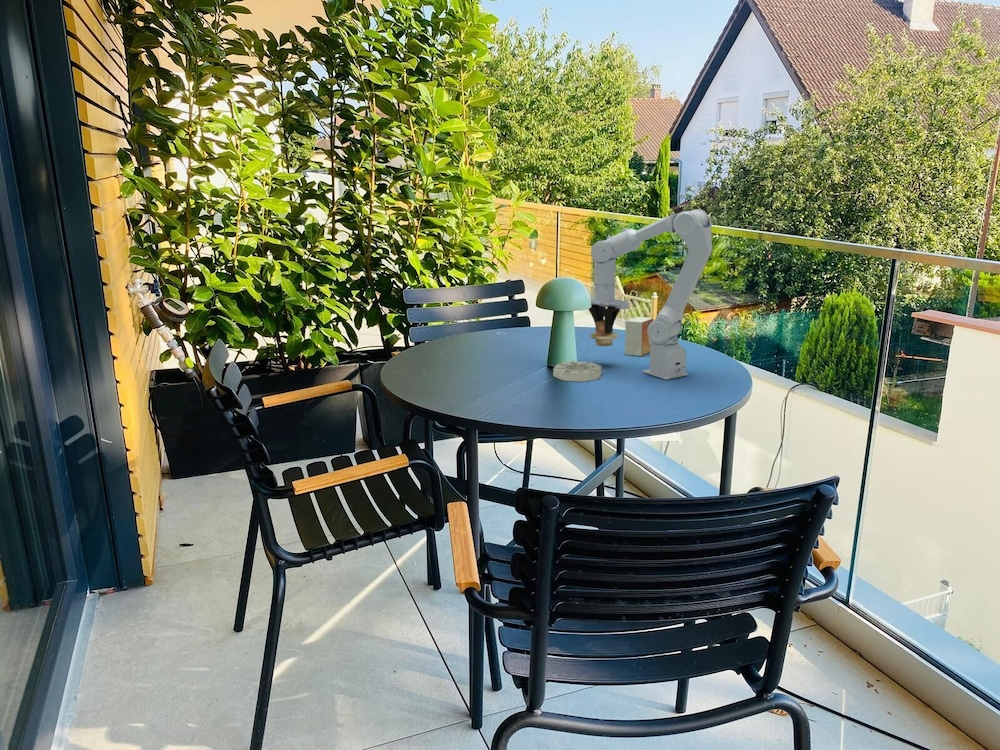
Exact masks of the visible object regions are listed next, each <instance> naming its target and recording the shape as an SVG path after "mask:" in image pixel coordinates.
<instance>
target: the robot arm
mask: <svg viewBox="0 0 1000 750" xmlns="http://www.w3.org/2000/svg"><path fill="white" fill-rule="evenodd" d="M712 226H713V223H712V221H711V219H710V218H709V215H708V214H707V213H706V211H704V210H702V209H693V210H685V211H681V212H678V213H675V214H671V215H668V216H664V217H662V218H661V219H658V220H657V221H654V222H652V223H649V224H648V225H646V226H643V227H641V228H640V229H638V230H637V229H634V228H632V227H631V228H628V227H625V228H622V229H621V232H619V233H617V234H615V235H608V236H606V239H605V240H598V241H596V242H595V243H594V244H593V245H592V246H591V249H590V254H591V255H590V256H591V258H592V259H593V260H594V272H593V273H594V274H593V276H594V281H593V282H594V285H593V286H594V287H593V288H594V289H593V293H594V294H593V297H590V298H591V305H590V307H589V308H588V311H589V313H590V315H591V317H592V319H593V322H594V325H595V327H596V322H597V321H600V320H604V319H605V332H606V333H611V332H612V328H614V324H615V321H616V319H617V317H618V315H619V313H620V312H621V310H624V311H625V310H628V309H629V303H630V302H629V301H625V300H621V299H616V260H617V258H618V257H619V258H620V257H621V256H623V255H625V254H628V253H631V252H633V251H636V250H638V249H639V248H640V246H641V244H642V242H644V241H646V240H647V241H648V240H649V239H652V238H654V237H657V236H659V235H662V234H664V233H670V234H674V233H675V234H677V235H678V237H679V238H680V239H681V240H682V241H683V242H684V244H685V246H686V248H687V250H688V253H687V256H686V258H685V260H684V263H683V265H682V267H681V269H680V272H679V274H678V276H677V278H676V280H675V282H674V284H673V286H672V289H671V291H670V293H669V295H668V296H667V299H666V302H665V303H664V305H663V307H662V309H661V310H660V311H659V312H658V314H657V315H656V318H655V319H653V322H651V323H650V324H649V326H648V330H647V332H648V336H649V338H650V339H651V348H650V352H649V353H650V355H649V356H650V357H649V368H648V369H644V370H642V373H645V374H648V375H651V376H653V377H657V378H660V379H663V380H666V381H667V380H671V379H676V378H681V377H686V376H688V372H686V371H687V370H686V369H687V350H686V349H685V348H684V346H681V344H680V343H679V338H678V335H679V334H680V333H681V332H682V329H683V327H682V325H683V323H682V322H683V318H684V317H685V314H684V311H685V308H686V306H687V305H688V303H689V301H690V298H691V297H692V294H693V293H694V290H695V287H696V286H697V283H698V281H699V279H700V277H701V276H702V273H703V271H704V269H705V267H706V264H708V263H707V262H708V261H709V258H710V256H711V254H712V252H713V240H712Z"/></svg>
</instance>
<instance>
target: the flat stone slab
mask: <svg viewBox="0 0 1000 750" xmlns="http://www.w3.org/2000/svg"><path fill="white" fill-rule="evenodd" d="M552 370H553V372H552V373H553V374H552V375H553V378H556V379H558V380H561V381H564V382H580V383H584V382H590V381H594V380H599V379H600V378H601V375H602V370H603V369H602V365H599V364H597V363H593V362H591V361H575V360H573V361H567V362H562V363H557V364H556V365H555V366H554V367H553V369H552Z"/></svg>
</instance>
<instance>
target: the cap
mask: <svg viewBox="0 0 1000 750" xmlns="http://www.w3.org/2000/svg"><path fill="white" fill-rule="evenodd" d="M613 328H614V327H613ZM613 328H612V332H611V333H606V332H605V318H604V320H600V321H597V322H596V326H595V332H591V333H590V336H589V337H590V338H591V339H593V340H595V345H596V346H598V347H610V346H612V345H613V342H614V341H613V340H615V339H617V338H619V334H618V332H617V333H616V332H614V331H613Z"/></svg>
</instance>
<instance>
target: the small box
mask: <svg viewBox="0 0 1000 750" xmlns="http://www.w3.org/2000/svg"><path fill="white" fill-rule="evenodd" d="M653 321H654V318H653V317H645V316H636V317H633V318H631V319H627V320H625V325H624V326H625V327H624V328H625V331H624V333H625V335H624V339H625V340H624V354H625V355H628V356H638V357H642V356H644V355H647V354H649V353H650V348H651V339H650V338H649V336H648V332H647V330H648V326H649V324H650V323H651V322H653Z"/></svg>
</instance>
